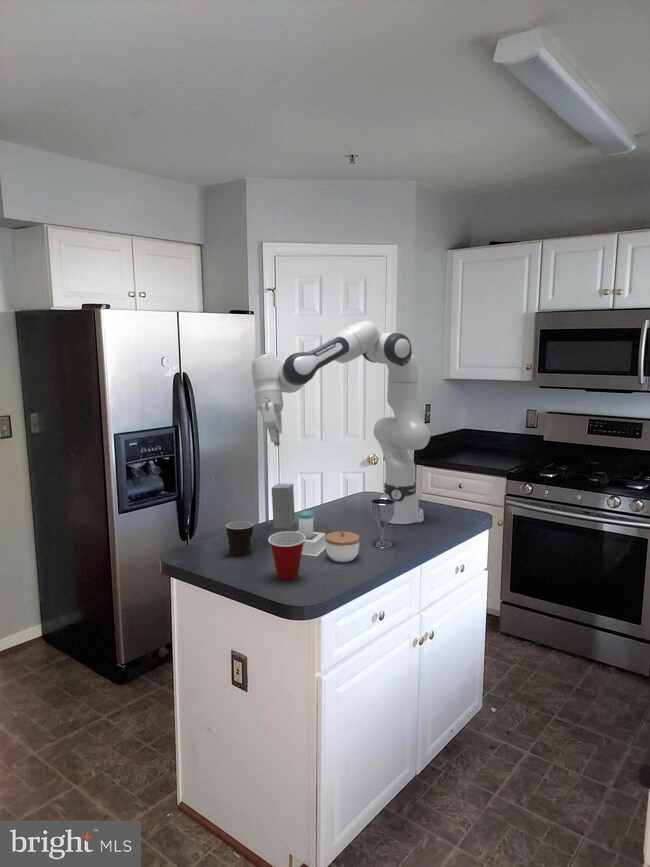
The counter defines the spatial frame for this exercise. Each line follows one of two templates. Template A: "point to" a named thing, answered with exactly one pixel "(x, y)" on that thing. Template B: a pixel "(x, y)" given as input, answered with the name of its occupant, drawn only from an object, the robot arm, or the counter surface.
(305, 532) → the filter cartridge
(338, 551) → the lidded jar
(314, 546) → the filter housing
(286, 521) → the skincare box
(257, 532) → the counter surface
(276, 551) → the plastic cup
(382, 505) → the wine glass
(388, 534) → the counter surface
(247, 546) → the coffee mug
